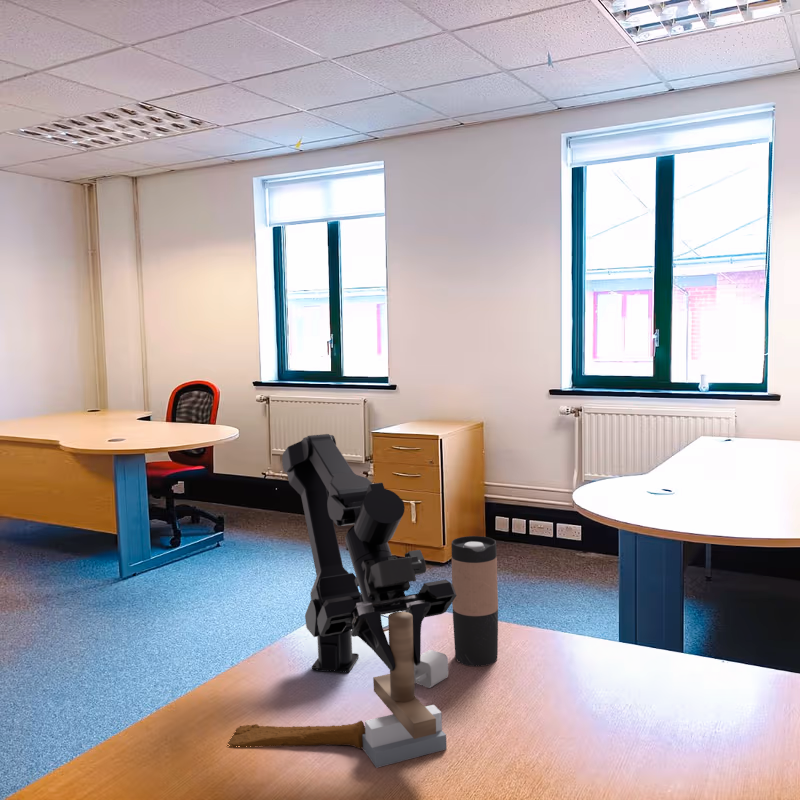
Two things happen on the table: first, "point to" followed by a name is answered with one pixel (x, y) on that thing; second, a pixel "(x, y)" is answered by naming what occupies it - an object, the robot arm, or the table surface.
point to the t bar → (403, 680)
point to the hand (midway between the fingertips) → (405, 667)
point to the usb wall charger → (431, 668)
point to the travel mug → (475, 600)
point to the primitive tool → (298, 735)
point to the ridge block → (399, 740)
